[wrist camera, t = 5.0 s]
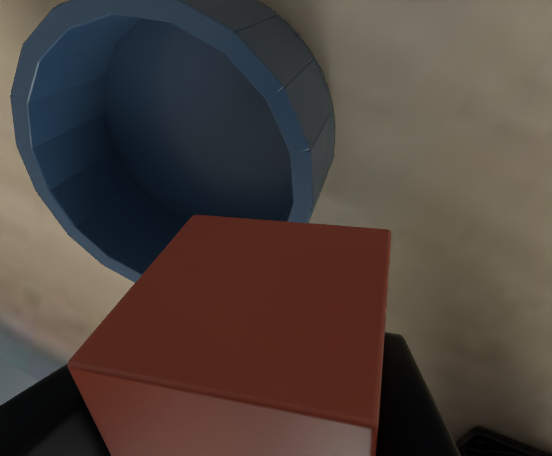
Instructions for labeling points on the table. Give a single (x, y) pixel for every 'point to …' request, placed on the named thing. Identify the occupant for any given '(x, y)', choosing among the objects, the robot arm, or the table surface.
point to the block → (245, 344)
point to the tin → (169, 120)
